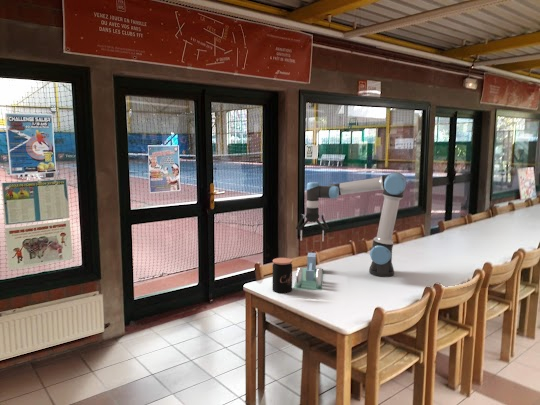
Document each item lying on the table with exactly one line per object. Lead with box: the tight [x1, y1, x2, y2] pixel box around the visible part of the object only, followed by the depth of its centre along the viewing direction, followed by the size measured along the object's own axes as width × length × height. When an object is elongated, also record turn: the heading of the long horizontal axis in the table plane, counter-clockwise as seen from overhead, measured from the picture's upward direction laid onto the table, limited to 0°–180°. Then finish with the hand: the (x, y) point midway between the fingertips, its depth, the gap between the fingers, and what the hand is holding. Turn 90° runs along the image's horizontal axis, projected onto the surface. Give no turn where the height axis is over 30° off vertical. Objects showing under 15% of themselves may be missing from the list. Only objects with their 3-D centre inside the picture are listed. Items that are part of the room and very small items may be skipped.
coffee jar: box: [272, 257, 293, 294], centre depth 226 cm, size 11×11×18 cm
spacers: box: [295, 266, 323, 289], centre depth 236 cm, size 14×13×8 cm
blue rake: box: [306, 252, 317, 281], centre depth 256 cm, size 5×26×10 cm, turn 172°
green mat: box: [293, 267, 324, 291], centre depth 248 cm, size 16×40×1 cm, turn 172°
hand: (312, 240), depth 261 cm, fingers open, 13 cm apart
